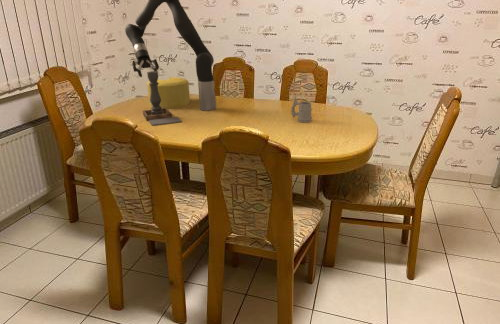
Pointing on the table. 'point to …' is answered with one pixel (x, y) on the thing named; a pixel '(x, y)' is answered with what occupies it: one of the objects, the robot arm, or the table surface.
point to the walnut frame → (160, 116)
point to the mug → (302, 111)
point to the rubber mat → (164, 121)
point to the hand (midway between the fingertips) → (148, 75)
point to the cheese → (172, 92)
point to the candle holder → (154, 93)
